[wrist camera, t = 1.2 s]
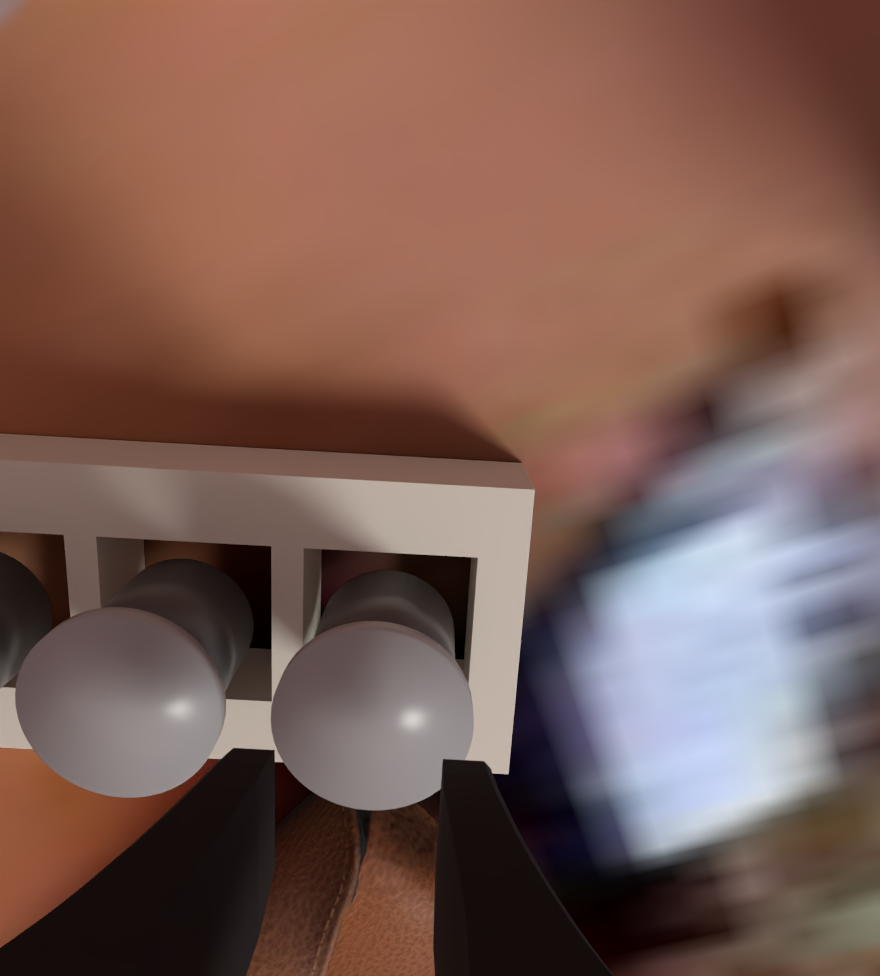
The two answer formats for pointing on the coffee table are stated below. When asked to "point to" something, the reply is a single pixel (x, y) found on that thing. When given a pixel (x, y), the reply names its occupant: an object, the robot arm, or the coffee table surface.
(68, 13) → the coffee table surface
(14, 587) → the knob
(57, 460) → the knob board
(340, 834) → the sunglasses case
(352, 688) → the knob
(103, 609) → the knob middle
